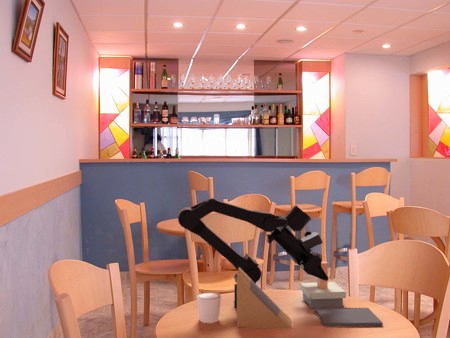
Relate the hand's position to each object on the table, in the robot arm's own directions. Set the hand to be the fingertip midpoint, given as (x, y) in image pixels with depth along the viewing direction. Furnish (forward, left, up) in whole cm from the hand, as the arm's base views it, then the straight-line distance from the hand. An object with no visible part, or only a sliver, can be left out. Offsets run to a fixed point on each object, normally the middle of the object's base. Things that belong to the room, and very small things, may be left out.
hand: (323, 276), depth 156 cm
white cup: (-36, -15, -9) cm, 40 cm away
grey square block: (0, 0, -9) cm, 9 cm away
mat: (+4, -15, -9) cm, 18 cm away
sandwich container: (-21, -18, -9) cm, 29 cm away
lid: (0, 0, -6) cm, 6 cm away
